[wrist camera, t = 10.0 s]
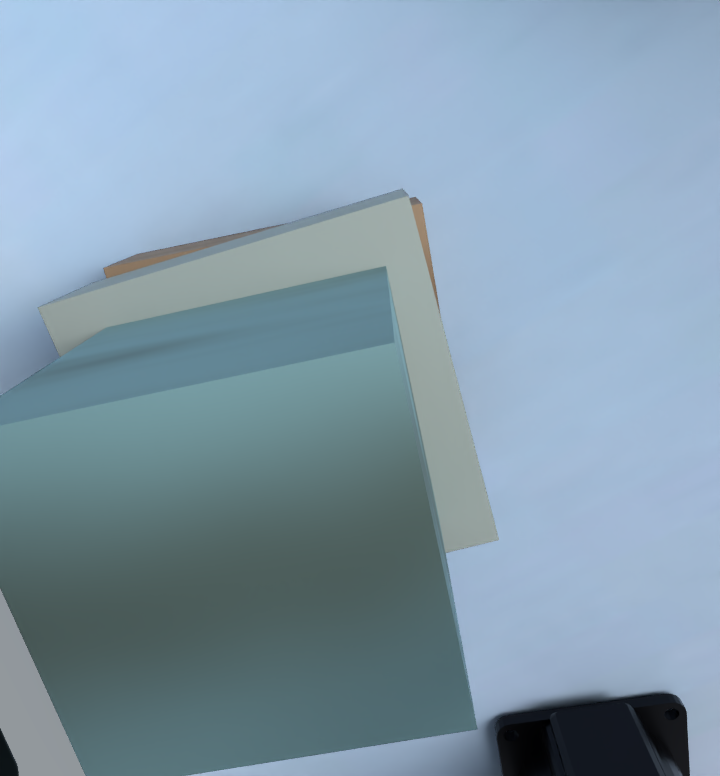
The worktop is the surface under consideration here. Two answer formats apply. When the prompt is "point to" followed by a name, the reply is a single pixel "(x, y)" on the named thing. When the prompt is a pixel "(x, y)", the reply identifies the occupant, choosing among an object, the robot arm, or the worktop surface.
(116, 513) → the teal cube
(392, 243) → the tower top
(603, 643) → the worktop surface
